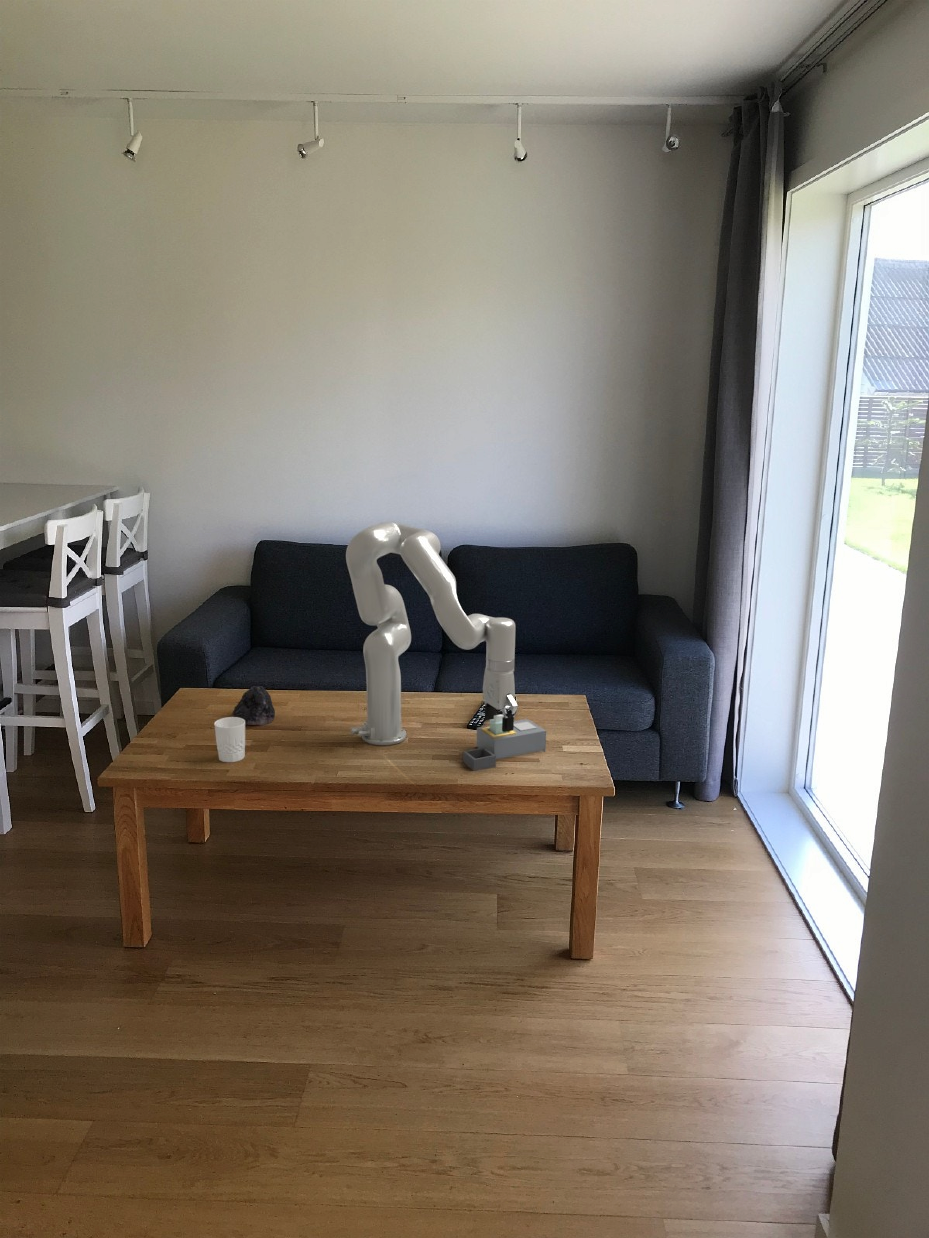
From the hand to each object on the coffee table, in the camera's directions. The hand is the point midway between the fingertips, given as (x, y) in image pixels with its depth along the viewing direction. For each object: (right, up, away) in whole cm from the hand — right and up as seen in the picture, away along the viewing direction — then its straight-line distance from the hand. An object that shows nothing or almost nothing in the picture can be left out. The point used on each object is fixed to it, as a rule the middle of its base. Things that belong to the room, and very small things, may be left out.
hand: (498, 724), depth 250 cm
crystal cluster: (-72, -1, +24) cm, 76 cm away
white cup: (-71, -8, -4) cm, 72 cm away
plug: (0, -7, +2) cm, 7 cm away
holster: (-5, -10, -7) cm, 13 cm away
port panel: (+3, -7, +4) cm, 9 cm away
